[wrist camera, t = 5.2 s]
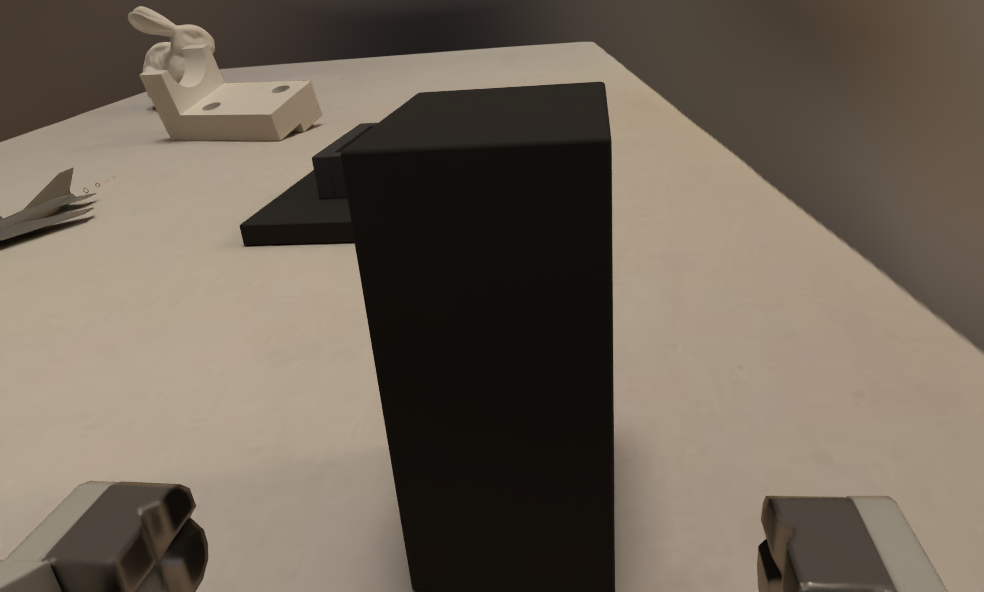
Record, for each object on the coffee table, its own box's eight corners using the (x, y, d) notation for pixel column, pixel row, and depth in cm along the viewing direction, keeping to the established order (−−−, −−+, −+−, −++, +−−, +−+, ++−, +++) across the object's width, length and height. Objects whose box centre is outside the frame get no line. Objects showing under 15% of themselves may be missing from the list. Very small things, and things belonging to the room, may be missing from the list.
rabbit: (236, 103, 90) (213, 0, 85) (164, 117, 83) (135, 7, 78) (188, 98, 97) (165, 3, 92) (119, 111, 91) (90, 10, 86)
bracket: (175, 148, 70) (139, 75, 66) (218, 116, 75) (187, 45, 71) (284, 150, 66) (253, 70, 61) (322, 115, 71) (296, 39, 66)
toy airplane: (-199, 303, 36) (-221, 261, 35) (69, 186, 55) (59, 156, 54) (-63, 300, 35) (-82, 256, 34) (162, 181, 54) (153, 151, 53)
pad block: (608, 435, 21) (604, 80, 17) (614, 602, 15) (611, 137, 11) (456, 434, 21) (416, 92, 17) (411, 592, 16) (337, 150, 12)
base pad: (526, 154, 53) (523, 103, 51) (498, 238, 37) (493, 167, 35) (345, 162, 55) (337, 114, 54) (243, 246, 39) (227, 179, 37)
